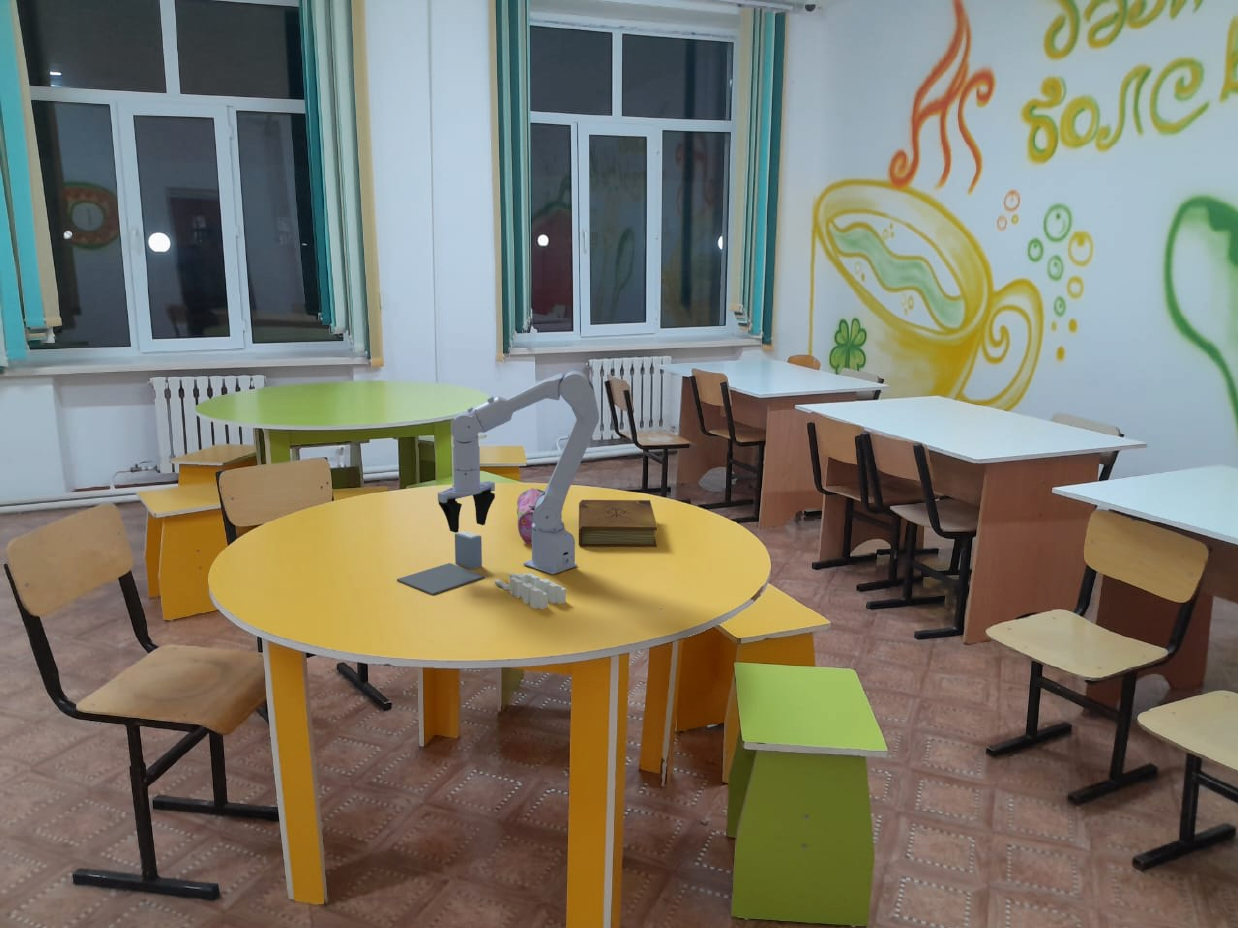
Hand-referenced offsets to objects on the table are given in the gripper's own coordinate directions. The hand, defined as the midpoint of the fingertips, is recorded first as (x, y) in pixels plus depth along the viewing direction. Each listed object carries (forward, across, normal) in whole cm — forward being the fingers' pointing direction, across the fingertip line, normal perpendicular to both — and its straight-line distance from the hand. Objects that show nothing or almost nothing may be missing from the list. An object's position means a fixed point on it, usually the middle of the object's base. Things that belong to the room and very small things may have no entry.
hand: (467, 527), depth 200 cm
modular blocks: (+9, +3, +22) cm, 24 cm away
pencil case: (+9, -28, -7) cm, 30 cm away
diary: (+9, -41, +8) cm, 43 cm away
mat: (+9, +10, +3) cm, 13 cm away
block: (+9, 0, 0) cm, 9 cm away
